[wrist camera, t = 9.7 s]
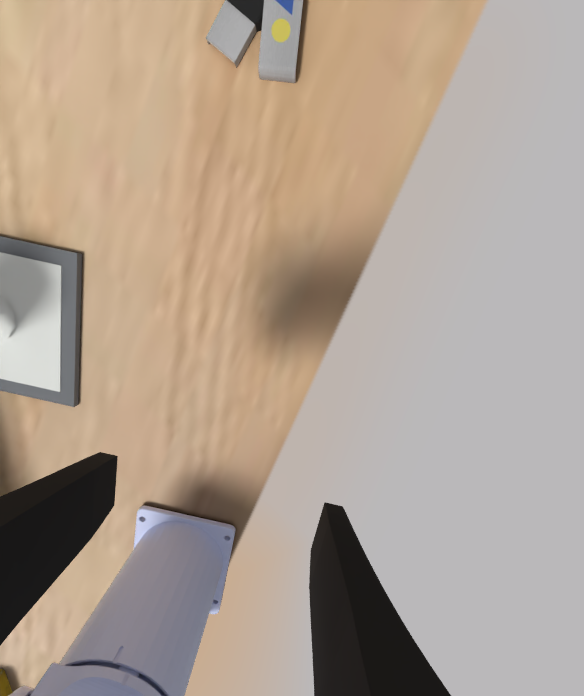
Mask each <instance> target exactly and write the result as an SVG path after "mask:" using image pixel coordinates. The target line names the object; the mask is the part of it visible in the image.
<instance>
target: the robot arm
mask: <svg viewBox="0 0 584 696" xmlns="http://www.w3.org/2000/svg"><path fill="white" fill-rule="evenodd" d="M116 471H117V456H115V455H110V454H106V453H101V452H100V453H97V454H95V455H92V456H90V457H88V458H85V459H83V460H81V461H79V462H77V463H74V464H72V465H70V466H68V467H66V468H64V469H61V470H59V471H57V472H55V473H53V474H51V475H48V476H46V477H44V478H42V479H39V480H37V481H35V482H33V483H31V484H28V485H26V486H24V487H22V488H20V489H17V490H15V491H13V492H10V493H8V494H6V495H3V496H1V497H0V645H1V644H2V643H3V641H4V640H5V639H6V638H7V636H8V635H9V634H10V633H11V632H12V630H13V629H14V628H15V627H16V625H17V624H18V623H19V622H20V621H21V619H22V618H23V617H24V616H25V615H26V614H27V613H28V611H29V610H30V609H31V608H32V607H33V606H34V604H35V603H36V602H37V601H38V600H39V599H40V597H41V596H42V595H43V594H44V593H45V592H46V591H47V589H48V588H49V587H50V586H51V585H52V584H53V582H54V581H55V580H56V579H57V578H58V577H59V575H60V574H61V573H62V572H63V571H64V570H65V569H66V567H67V566H68V565H69V564H70V563H71V562H72V560H73V559H74V558H75V557H76V556H77V554H78V553H79V552H80V551H81V550H82V549H83V547H84V546H85V545H86V544H87V543H88V541H89V540H90V539H91V538H92V537H93V535H94V534H95V532H96V531H97V530H98V528H99V527H100V525H101V524H102V523H103V521H104V520H105V518H106V517H107V515H108V514H109V512H110V511H111V509H112V508H113V506H114V501H115V486H116ZM234 536H235V527H234V526H233V525H230V524H226V523H221V522H217V521H212V520H208V519H203V518H199V517H194V516H190V515H186V514H181V513H177V512H172V511H168V510H163V509H159V508H154V507H150V506H141V507H140V508H139V510H138V511H137V519H136V530H135V541H134V550H133V551H132V553H131V554H130V556H129V558H128V559H127V561H126V562H125V564H124V565H123V567H122V568H121V570H120V571H119V573H118V574H117V576H116V577H115V579H114V580H113V582H112V583H111V585H110V587H109V588H108V590H107V591H106V593H105V594H104V596H103V597H102V599H101V600H100V602H99V603H98V605H97V606H96V608H95V609H94V611H93V612H92V614H91V616H90V617H89V619H88V620H87V622H86V623H85V625H84V626H83V628H82V629H81V631H80V632H79V634H78V635H77V637H76V638H75V640H74V641H73V643H72V645H71V646H70V648H69V649H68V651H67V652H66V654H65V655H64V657H63V658H62V660H61V661H60V663H59V664H58V663H52V664H51V665H50V667H49V668H48V670H47V671H46V673H45V674H44V675H43V677H42V678H41V680H40V681H39V683H38V684H37V686H36V687H35V689H33V688H31V687H28V686H21V687H19V688H18V689H16V690H15V691H14V692H13V693H12V694H10V695H8V696H184V695H185V692H186V688H187V685H188V682H189V678H190V675H191V672H192V668H193V665H194V662H195V658H196V655H197V652H198V648H199V645H200V642H201V638H202V635H203V632H204V628H205V625H206V622H207V618H208V615H209V613H210V614H217V613H218V612H219V609H220V605H221V600H222V595H223V590H224V586H225V581H226V576H227V571H228V566H229V561H230V556H231V551H232V546H233V541H234ZM309 589H310V609H311V611H310V612H311V632H312V649H313V650H312V652H313V671H314V696H451V695H450V694H449V692H448V691H447V689H446V688H445V686H444V685H443V683H442V682H441V680H440V679H439V678H438V676H437V675H436V673H435V672H434V670H433V669H432V667H431V666H430V664H429V663H428V661H427V660H426V658H425V656H424V655H423V653H422V652H421V650H420V649H419V647H418V646H417V644H416V643H415V641H414V639H413V638H412V636H411V635H410V633H409V631H408V630H407V628H406V626H405V625H404V623H403V622H402V620H401V618H400V616H399V615H398V613H397V611H396V610H395V608H394V606H393V604H392V603H391V601H390V599H389V597H388V596H387V594H386V592H385V590H384V589H383V587H382V585H381V583H380V581H379V579H378V577H377V576H376V574H375V572H374V570H373V568H372V566H371V564H370V562H369V560H368V558H367V557H366V555H365V552H364V550H363V548H362V546H361V545H360V542H359V540H358V538H357V536H356V534H355V532H354V530H353V528H352V525H351V523H350V521H349V519H348V517H347V515H346V512H345V510H344V509H343V507H342V506H338V505H333V504H329V503H324V507H323V510H322V513H321V517H320V520H319V524H318V527H317V531H316V534H315V537H314V541H313V544H312V548H311V560H310V584H309Z"/></svg>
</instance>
